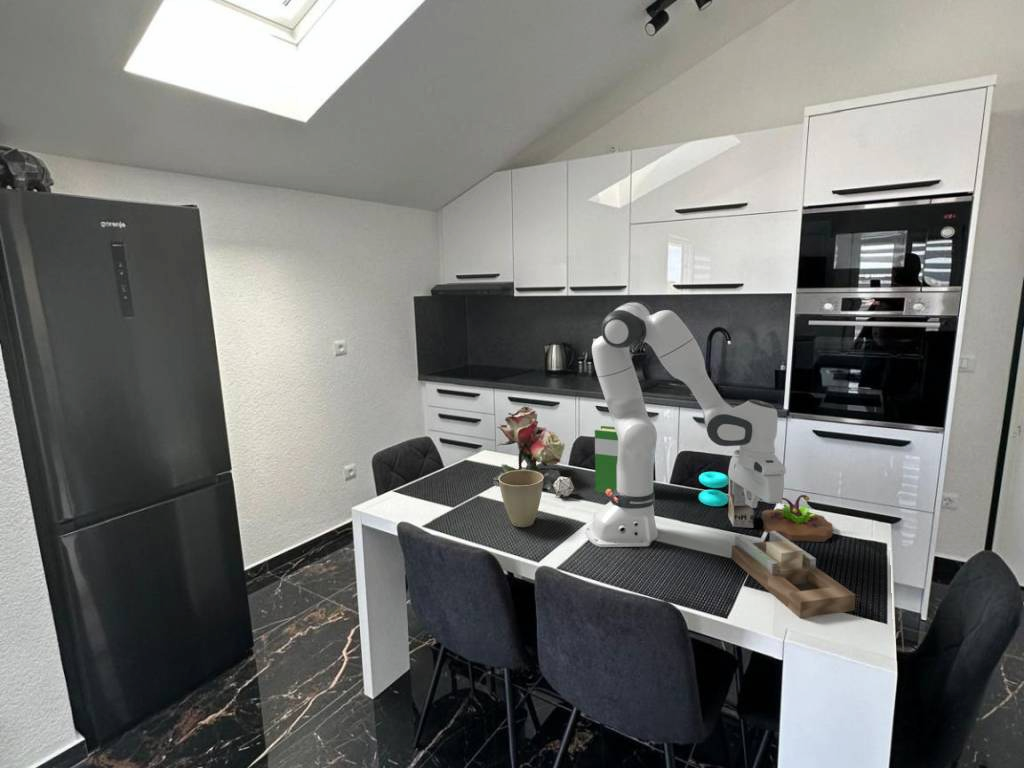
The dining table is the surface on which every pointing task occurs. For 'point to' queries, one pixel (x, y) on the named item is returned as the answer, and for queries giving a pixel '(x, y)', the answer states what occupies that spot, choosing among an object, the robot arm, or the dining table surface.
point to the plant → (797, 523)
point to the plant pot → (521, 495)
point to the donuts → (715, 482)
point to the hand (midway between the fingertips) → (751, 505)
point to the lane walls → (764, 558)
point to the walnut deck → (799, 587)
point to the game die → (563, 486)
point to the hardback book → (606, 459)
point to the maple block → (785, 555)
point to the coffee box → (739, 507)
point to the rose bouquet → (531, 444)
